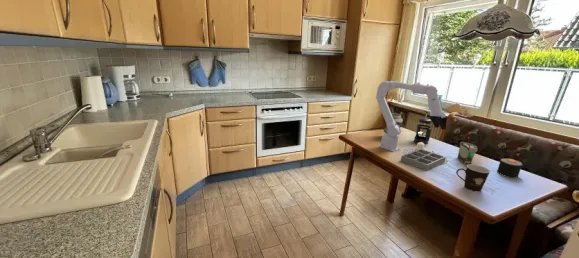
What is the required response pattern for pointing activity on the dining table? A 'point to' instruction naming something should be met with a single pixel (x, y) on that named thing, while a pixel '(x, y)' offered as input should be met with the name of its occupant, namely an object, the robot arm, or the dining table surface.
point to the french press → (428, 132)
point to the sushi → (509, 167)
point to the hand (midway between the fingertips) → (440, 128)
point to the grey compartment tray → (423, 159)
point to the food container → (466, 152)
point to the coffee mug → (474, 177)
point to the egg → (420, 146)
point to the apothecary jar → (397, 119)
